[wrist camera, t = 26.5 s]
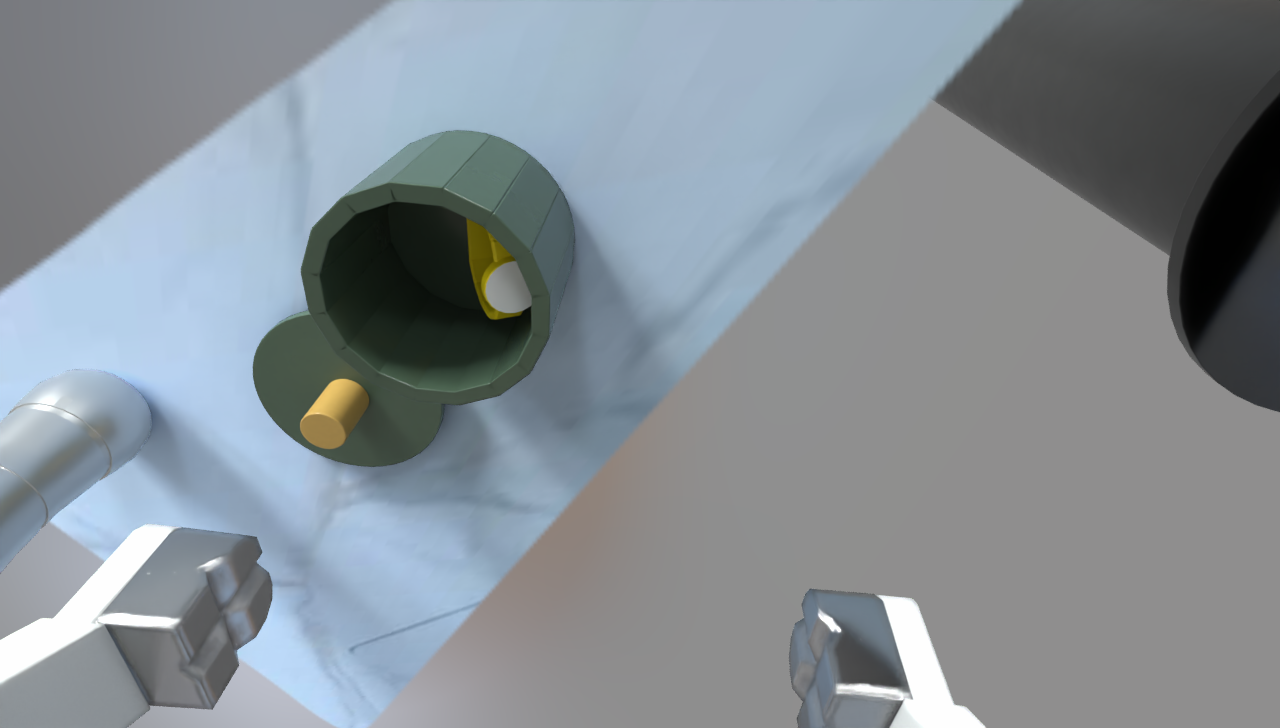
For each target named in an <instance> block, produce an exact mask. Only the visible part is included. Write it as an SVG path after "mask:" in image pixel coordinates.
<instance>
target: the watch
mask: <svg viewBox="0 0 1280 728" xmlns="http://www.w3.org/2000/svg"><path fill="white" fill-rule="evenodd" d="M466 219H467V218H466ZM467 235H468V251H469V264H470V268H471V273H472V278H473V282H474V284H475V289H476V292H477V295H478V298H479V301H480V304H481V306H482V308H483V310H484V311H485V313H486V315H487V316H488V317H489V318H490V319H502V318H508V317H514V316H520V315H521V314H522V312H523V310H525V309H527V308H528V307H530V306H531V294H530V292H529V289H528V287H527V285H526V283H525V280H524V278H523V276H522V274H521V271H520V269H519V267H518V265H517V262H516V260H515V258H514V257H513V256H512V255H511V254H510V253H509V252H508V251H507V250H506V249H505V248H504V247H503V246H502V245H501V244H500V243H499V242H498V241H497V240H496V239H495V238H494V237H493V236H492V235H491V234H490V233H489V232H488V231H487V230H486V229H485V228H484V227H483V226H481V225H479V224H477V223H475V222H473V221H471V220H469V219H467Z"/></svg>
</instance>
